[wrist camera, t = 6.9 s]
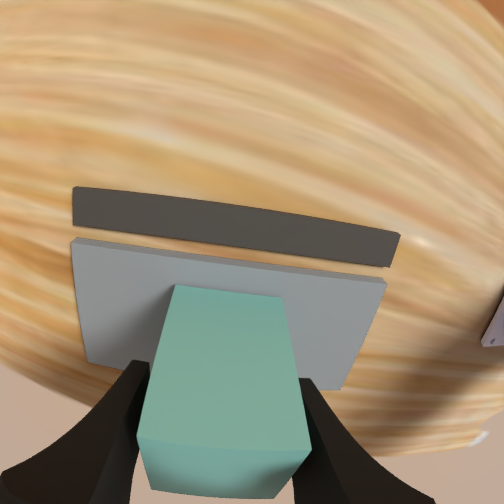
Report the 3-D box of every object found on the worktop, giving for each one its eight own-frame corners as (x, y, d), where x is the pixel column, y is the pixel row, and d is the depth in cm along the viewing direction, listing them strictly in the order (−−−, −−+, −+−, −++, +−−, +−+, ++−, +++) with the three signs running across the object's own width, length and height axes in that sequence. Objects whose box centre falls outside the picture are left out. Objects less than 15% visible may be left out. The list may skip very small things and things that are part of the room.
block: (282, 297, 13) (311, 449, 7) (262, 368, 15) (273, 498, 9) (175, 284, 13) (136, 436, 6) (173, 358, 14) (151, 489, 8)
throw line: (397, 232, 13) (400, 235, 13) (387, 264, 14) (389, 267, 13) (75, 186, 11) (72, 188, 11) (76, 222, 12) (73, 224, 12)
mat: (382, 277, 14) (387, 284, 13) (337, 382, 17) (340, 390, 16) (76, 237, 12) (70, 242, 12) (91, 355, 15) (87, 362, 15)
